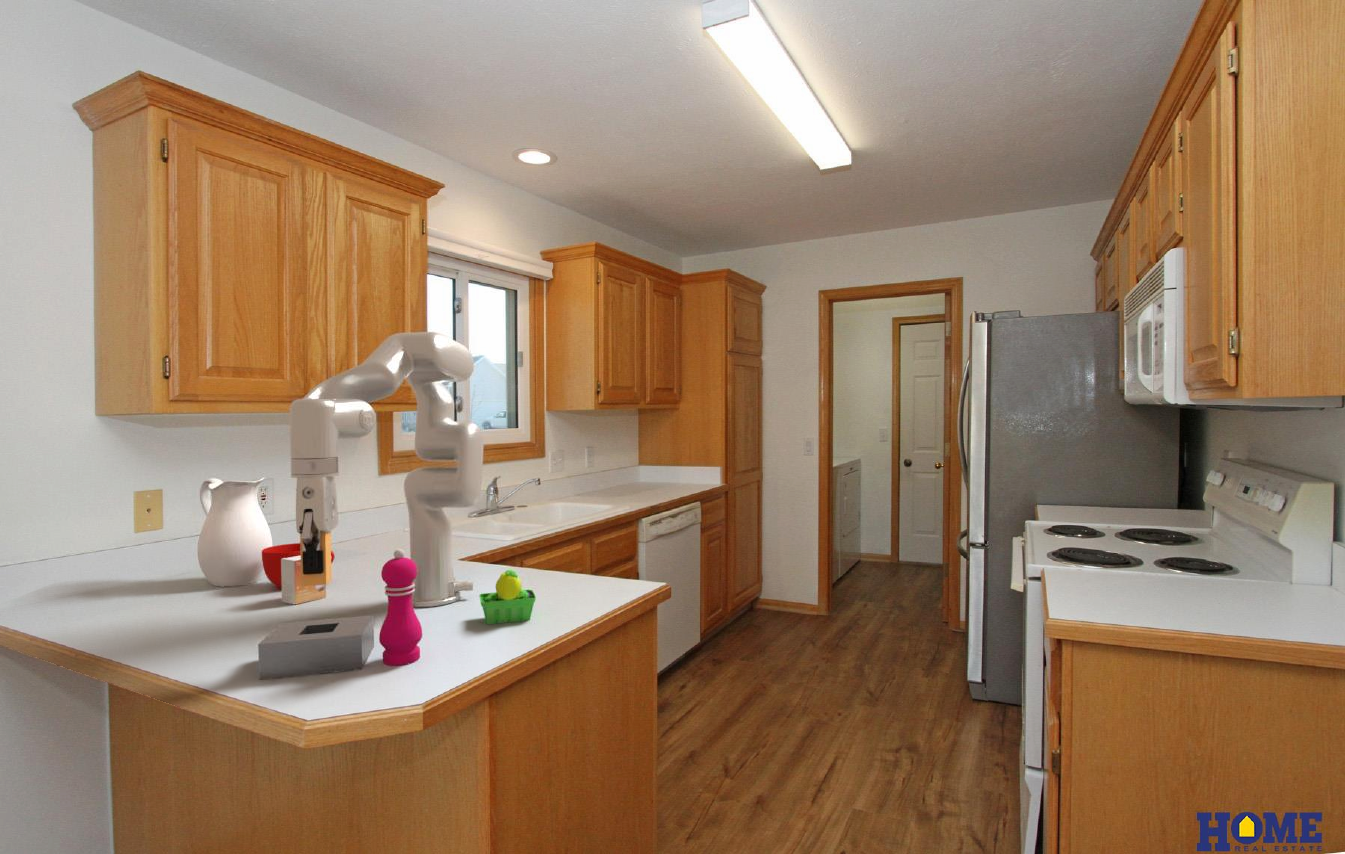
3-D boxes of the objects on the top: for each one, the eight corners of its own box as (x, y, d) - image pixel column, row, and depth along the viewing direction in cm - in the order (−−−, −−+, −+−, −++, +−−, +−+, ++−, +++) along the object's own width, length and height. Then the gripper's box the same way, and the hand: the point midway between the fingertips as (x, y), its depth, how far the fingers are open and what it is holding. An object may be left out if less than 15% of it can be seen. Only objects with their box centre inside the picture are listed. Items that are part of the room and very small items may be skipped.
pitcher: (285, 578, 186) (283, 476, 186) (218, 593, 172) (214, 482, 171) (241, 569, 199) (238, 473, 198) (174, 581, 185) (171, 478, 184)
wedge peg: (331, 579, 124) (330, 519, 124) (326, 584, 121) (325, 522, 120) (307, 581, 123) (306, 520, 123) (301, 586, 120) (299, 523, 119)
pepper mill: (387, 653, 127) (384, 545, 126) (427, 651, 127) (425, 544, 127) (373, 668, 119) (371, 553, 119) (416, 666, 120) (413, 552, 120)
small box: (294, 605, 160) (293, 560, 159) (281, 602, 163) (280, 558, 162) (327, 597, 166) (326, 554, 166) (314, 594, 169) (313, 552, 169)
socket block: (374, 646, 130) (373, 615, 130) (362, 669, 119) (361, 634, 119) (280, 655, 126) (279, 623, 126) (259, 679, 115) (258, 644, 115)
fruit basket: (532, 611, 152) (531, 560, 152) (537, 622, 144) (536, 569, 144) (479, 616, 149) (478, 565, 149) (481, 629, 140) (480, 574, 140)
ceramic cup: (328, 589, 174) (327, 550, 174) (254, 594, 171) (253, 554, 170) (340, 577, 187) (340, 540, 187) (272, 581, 183) (271, 544, 183)
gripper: (326, 470, 115) (328, 580, 115) (347, 464, 131) (349, 560, 131) (277, 472, 113) (279, 583, 113) (304, 465, 129) (306, 563, 129)
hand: (316, 569), depth 122 cm, fingers closed on wedge peg, 4 cm apart
